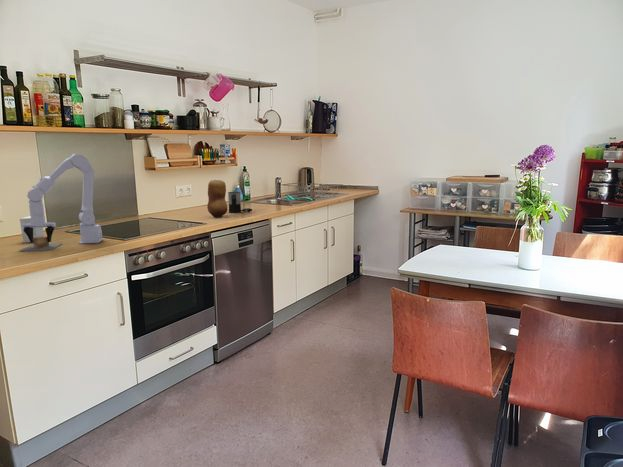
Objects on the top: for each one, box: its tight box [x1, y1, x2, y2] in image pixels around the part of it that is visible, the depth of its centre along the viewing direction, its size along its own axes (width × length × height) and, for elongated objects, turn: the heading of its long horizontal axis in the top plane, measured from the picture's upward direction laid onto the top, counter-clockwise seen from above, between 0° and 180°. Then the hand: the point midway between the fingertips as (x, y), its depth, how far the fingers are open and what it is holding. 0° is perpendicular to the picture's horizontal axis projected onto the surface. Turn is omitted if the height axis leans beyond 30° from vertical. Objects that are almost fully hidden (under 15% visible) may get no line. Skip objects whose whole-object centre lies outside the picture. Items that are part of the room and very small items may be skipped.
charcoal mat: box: [18, 242, 63, 253], centre depth 220 cm, size 14×14×1 cm
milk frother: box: [227, 191, 253, 214], centre depth 329 cm, size 14×16×15 cm
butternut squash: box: [206, 179, 229, 219], centre depth 306 cm, size 14×13×25 cm
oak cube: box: [32, 235, 50, 248], centre depth 219 cm, size 5×5×5 cm
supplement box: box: [19, 215, 45, 244], centre depth 235 cm, size 7×7×13 cm
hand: (40, 242), depth 219 cm, fingers open, 7 cm apart
